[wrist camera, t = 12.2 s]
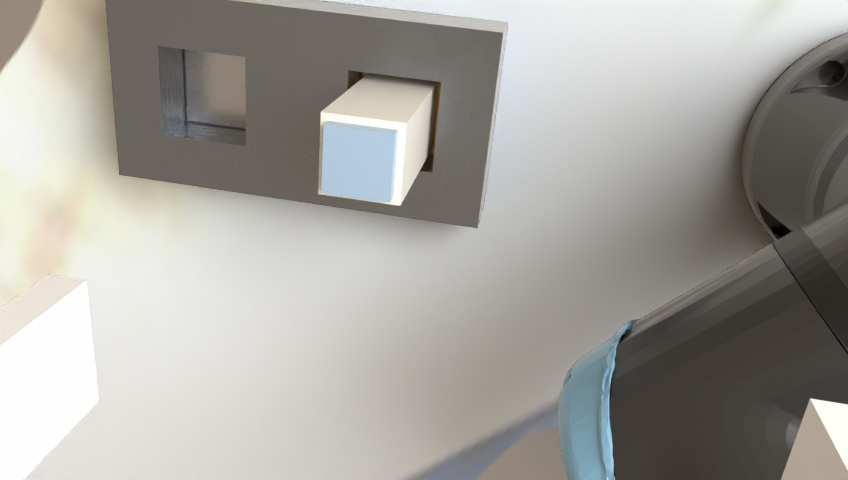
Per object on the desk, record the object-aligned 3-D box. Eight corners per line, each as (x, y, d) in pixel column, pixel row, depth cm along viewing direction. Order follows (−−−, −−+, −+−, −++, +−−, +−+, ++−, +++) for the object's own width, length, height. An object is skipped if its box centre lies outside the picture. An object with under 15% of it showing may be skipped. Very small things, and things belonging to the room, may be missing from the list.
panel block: (508, 22, 46) (503, 32, 42) (483, 203, 51) (477, 228, 47) (142, -21, 49) (104, -15, 45) (152, 155, 54) (119, 174, 50)
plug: (439, 79, 47) (403, 127, 36) (433, 146, 49) (397, 211, 38) (371, 70, 48) (316, 115, 37) (367, 137, 50) (313, 199, 39)
